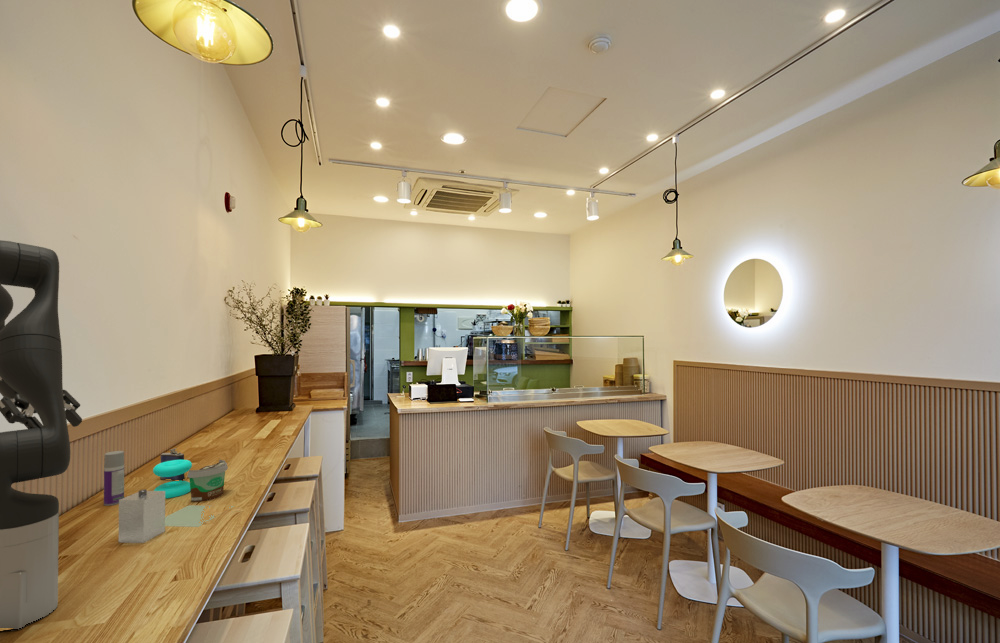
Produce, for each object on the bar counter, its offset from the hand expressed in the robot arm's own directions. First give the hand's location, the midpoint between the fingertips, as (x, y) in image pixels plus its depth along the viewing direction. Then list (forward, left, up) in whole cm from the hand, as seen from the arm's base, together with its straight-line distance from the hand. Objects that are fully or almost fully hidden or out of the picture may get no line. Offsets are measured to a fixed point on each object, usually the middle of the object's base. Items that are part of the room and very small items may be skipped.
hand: (60, 427), depth 107 cm
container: (+32, +7, -29) cm, 44 cm away
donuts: (+36, -7, -29) cm, 47 cm away
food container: (+30, -21, -29) cm, 47 cm away
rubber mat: (+15, -22, -29) cm, 39 cm away
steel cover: (+3, -16, -29) cm, 33 cm away
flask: (+53, +1, -29) cm, 61 cm away
